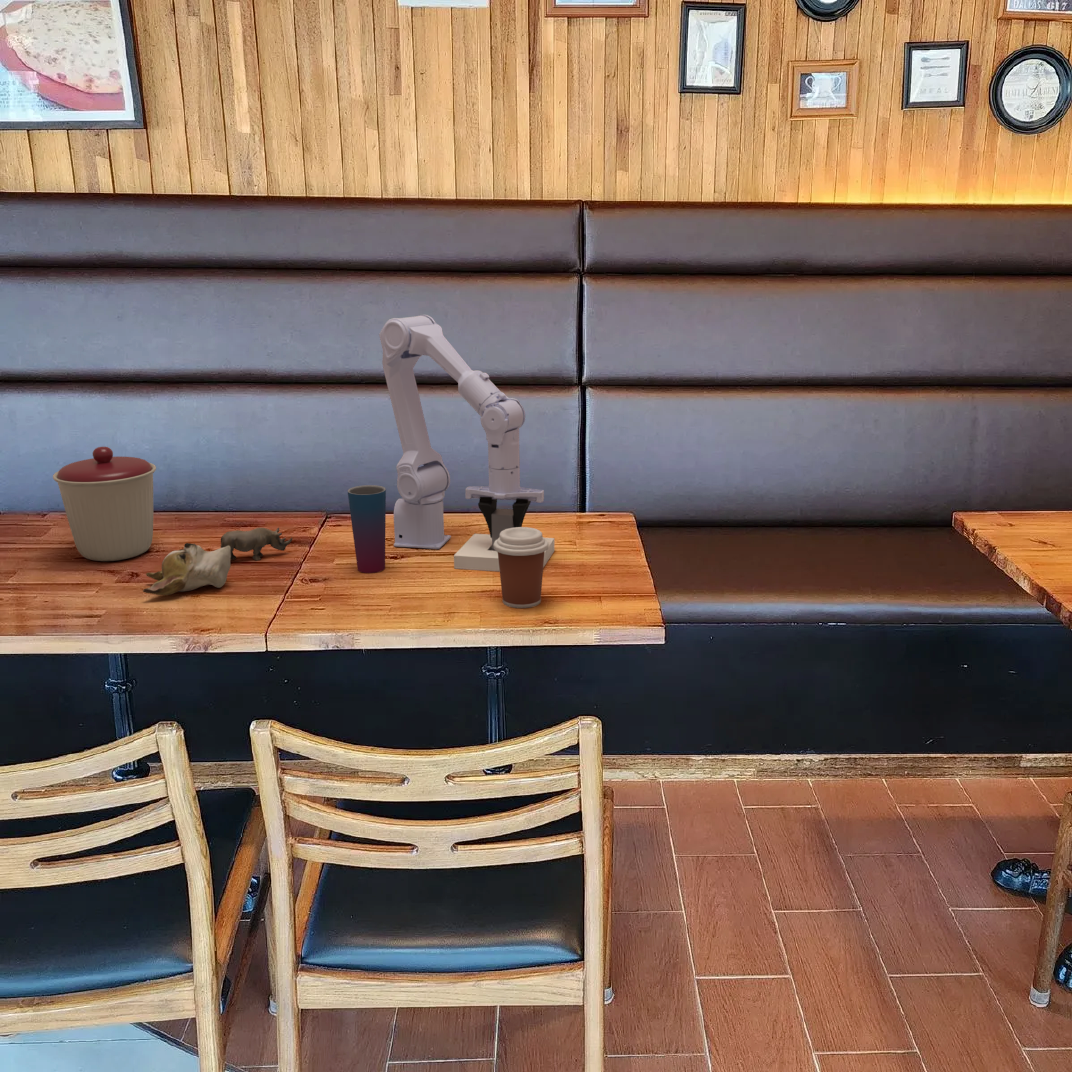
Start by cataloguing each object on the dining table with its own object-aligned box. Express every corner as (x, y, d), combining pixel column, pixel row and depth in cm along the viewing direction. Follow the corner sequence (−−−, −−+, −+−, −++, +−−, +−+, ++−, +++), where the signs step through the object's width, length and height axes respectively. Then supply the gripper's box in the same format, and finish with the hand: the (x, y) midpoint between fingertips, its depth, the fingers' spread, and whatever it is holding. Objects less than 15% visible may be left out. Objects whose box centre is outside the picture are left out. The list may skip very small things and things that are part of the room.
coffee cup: (509, 615, 163) (508, 544, 159) (485, 597, 171) (484, 529, 167) (558, 605, 167) (558, 536, 163) (533, 588, 175) (532, 522, 171)
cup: (397, 565, 187) (393, 487, 183) (376, 576, 181) (371, 496, 177) (366, 560, 190) (361, 483, 185) (345, 571, 184) (339, 492, 180)
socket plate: (454, 568, 185) (453, 555, 185) (474, 545, 198) (474, 533, 198) (539, 574, 182) (539, 560, 181) (554, 550, 195) (554, 538, 194)
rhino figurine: (295, 556, 193) (293, 526, 191) (221, 566, 188) (218, 535, 186) (291, 550, 197) (289, 521, 195) (218, 559, 191) (215, 529, 190)
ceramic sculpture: (229, 545, 171) (135, 559, 167) (237, 593, 173) (145, 608, 169) (228, 528, 180) (139, 541, 176) (236, 574, 183) (149, 588, 179)
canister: (43, 562, 191) (26, 453, 184) (115, 535, 207) (101, 434, 200) (118, 573, 184) (102, 460, 178) (185, 545, 200) (173, 441, 194)
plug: (492, 555, 188) (491, 514, 186) (497, 548, 192) (496, 508, 189) (513, 556, 187) (512, 515, 185) (518, 550, 191) (517, 509, 189)
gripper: (459, 469, 183) (462, 541, 187) (538, 472, 180) (538, 545, 184) (470, 460, 189) (472, 530, 193) (546, 464, 186) (546, 534, 190)
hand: (505, 537), depth 189 cm, fingers closed on plug, 4 cm apart
